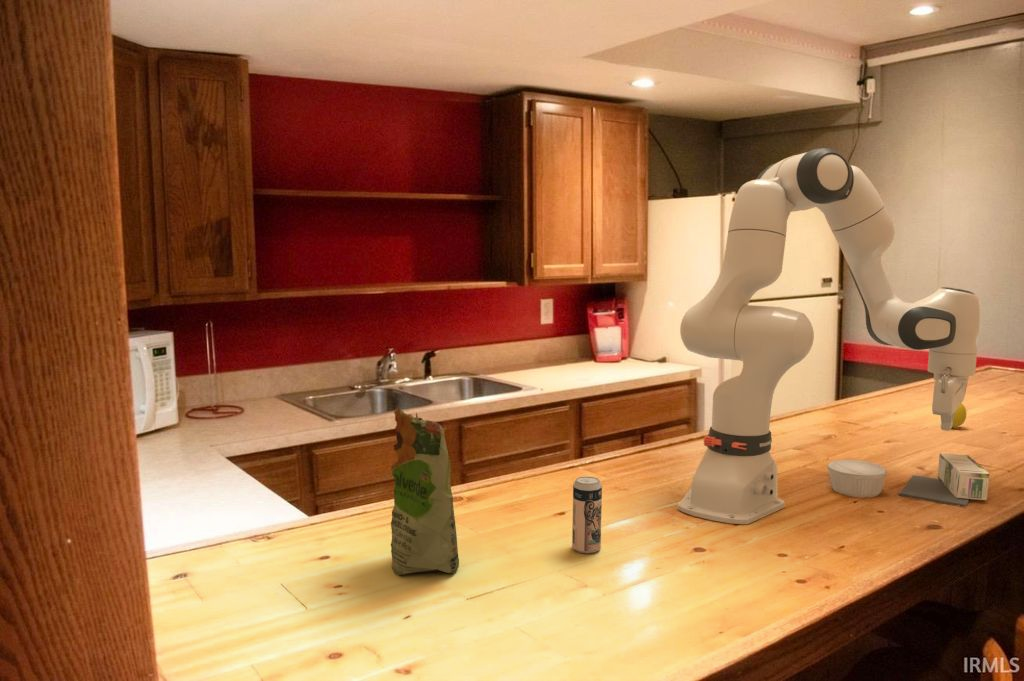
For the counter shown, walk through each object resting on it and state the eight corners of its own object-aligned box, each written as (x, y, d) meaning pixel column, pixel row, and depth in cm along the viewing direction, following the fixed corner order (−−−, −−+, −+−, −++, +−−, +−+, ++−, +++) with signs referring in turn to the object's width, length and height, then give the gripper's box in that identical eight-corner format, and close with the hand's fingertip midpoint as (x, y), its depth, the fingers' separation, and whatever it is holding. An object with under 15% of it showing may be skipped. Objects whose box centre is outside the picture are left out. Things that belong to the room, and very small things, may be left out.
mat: (966, 507, 157) (966, 504, 157) (899, 495, 164) (899, 493, 163) (975, 487, 170) (975, 484, 169) (912, 477, 176) (913, 474, 176)
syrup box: (965, 480, 173) (989, 501, 159) (935, 478, 174) (956, 498, 160) (968, 454, 172) (992, 473, 158) (938, 452, 173) (959, 471, 159)
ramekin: (817, 491, 166) (819, 466, 166) (838, 479, 174) (840, 456, 174) (873, 503, 159) (875, 478, 158) (892, 491, 167) (894, 466, 166)
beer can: (592, 557, 131) (594, 486, 129) (566, 551, 133) (568, 481, 132) (605, 547, 135) (607, 478, 133) (580, 542, 137) (581, 474, 136)
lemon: (965, 427, 224) (967, 399, 223) (964, 431, 219) (966, 403, 218) (943, 425, 227) (945, 397, 226) (941, 429, 222) (943, 400, 221)
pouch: (449, 586, 120) (449, 422, 116) (373, 579, 122) (371, 418, 118) (466, 557, 130) (467, 406, 127) (396, 551, 132) (395, 403, 129)
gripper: (962, 372, 158) (956, 441, 160) (974, 360, 175) (969, 422, 176) (926, 369, 162) (921, 436, 163) (941, 358, 178) (937, 418, 180)
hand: (946, 429), depth 170 cm, fingers closed
